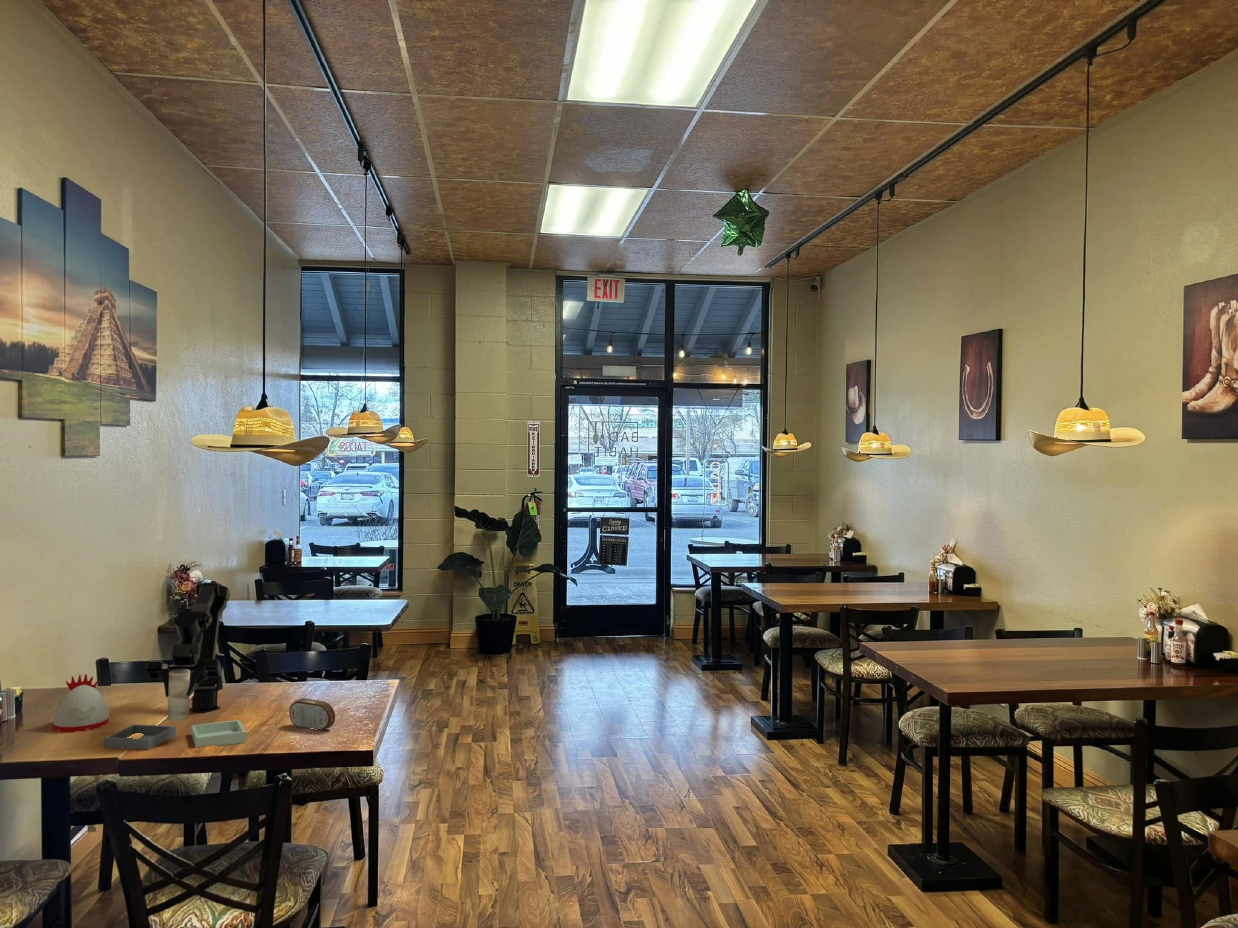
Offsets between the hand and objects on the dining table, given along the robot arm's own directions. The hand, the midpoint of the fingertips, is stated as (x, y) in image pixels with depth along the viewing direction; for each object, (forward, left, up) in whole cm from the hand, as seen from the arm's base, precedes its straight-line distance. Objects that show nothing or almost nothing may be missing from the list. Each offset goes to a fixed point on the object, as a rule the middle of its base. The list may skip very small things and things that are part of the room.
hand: (177, 695), depth 231 cm
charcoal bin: (+5, -9, -13) cm, 17 cm away
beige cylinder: (-1, -1, -7) cm, 7 cm away
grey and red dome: (+5, -38, -14) cm, 41 cm away
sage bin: (-9, +5, -13) cm, 17 cm away
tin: (-31, +18, -14) cm, 38 cm away
